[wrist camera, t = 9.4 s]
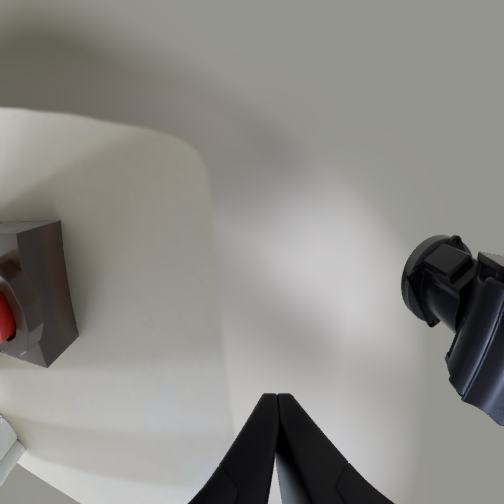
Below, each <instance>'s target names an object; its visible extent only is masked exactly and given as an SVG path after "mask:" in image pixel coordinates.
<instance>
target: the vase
mask: <svg viewBox="0 0 504 504" xmlns="http://www.w3.org/2000/svg"><path fill="white" fill-rule="evenodd" d="M17 438H18V437H17V434H16V432H15V431H14V429H13V428H12V427H11V425H10V424H9V423H8V422H7V421H6V420H5V419H4V418H3V417H2V416H1V415H0V487H1V485H2V484H3V482H4V480H5V479H6V478H7V476H8V475H9V473H10V472H11V470H12V469H13V467H14V466H15V464H16V463H17V461H18V460H19V459H20V457H21V456H22V454H23V453H24V451H25V448H24V446H23V445H22V444H21V443H20V442H19V441H18V440H17Z"/></svg>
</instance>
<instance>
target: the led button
mask: <svg viewBox="0 0 504 504" xmlns="http://www.w3.org/2000/svg"><path fill="white" fill-rule="evenodd" d="M15 330H16V322H15V319H14V315H13V311H12V309H11V307H10V305H9V303H8V302H7V300H6V298H5V296H4V294H3V293H2V292H1V291H0V344H1V343H2V342H4V341H5V340H6V339H8V338H9V337H10V336H11V335H13V334H14V332H15Z"/></svg>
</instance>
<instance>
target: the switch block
mask: <svg viewBox="0 0 504 504" xmlns="http://www.w3.org/2000/svg"><path fill="white" fill-rule="evenodd" d="M0 291H1V292H2V293H3V294H4V296H5V298H6V300H7V302H8V303H9V305H10V307H11V309H12V311H13V315H14V319H15V322H16V330H15V332H14V334H13V335H11V336H10V337H9V338H8V339H6V340H5V341H4V342H2V343H1V344H0V352H2V353H5V354H8V355H10V356H13V357H16V358H18V359H21V360H24V361H27V362H30V363H33V364H36V365H39V366H42V367H45V368H48V367H49V366H50V365H51V364H52V363H53V362H54V361H55V360H56V359H57V358H58V357H59V356H60V355H61V354H62V353H63V352H64V351H65V350H66V349H67V348H68V347H69V346H70V345H71V344H72V343H73V342H74V341H75V340H76V339H77V338H78V332H77V328H76V323H75V319H74V314H73V310H72V305H71V299H70V294H69V288H68V282H67V276H66V269H65V262H64V254H63V245H62V235H61V223H60V220H57V221H28V222H5V223H0Z"/></svg>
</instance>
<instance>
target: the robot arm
mask: <svg viewBox="0 0 504 504" xmlns="http://www.w3.org/2000/svg"><path fill="white" fill-rule="evenodd" d="M456 239H457V242H456V243H455V240H456ZM477 259H478V260H477ZM477 259H475V258H473V257H472V256H471V255H470V254H468V253H466V251H465V248H464V245H463V243H462V240H461V238H460V237H459V236H457V235H454V236H452V237H451V238H450V239H449V240H448V241H447V242H445V243H443V244H442V245H440V246H439V247H438V248H437V249H436V250H435V251H433V252H432V253H431V254H430V255H429V256H427V257H426V258H425V259H424V260H423V262H422V263H420V264H419V265H418V266H417V267H416V268H414V269H413V270H412V271H411V272H409V273H408V274H407V276H406V281H407V283H408V285H409V287H410V289H411V291H412V293H413V295H414V297H415V299H416V301H417V303H418V306H419V308H420V310H421V312H422V314H423V317H424V319H425V321H426V323H427V325H428V326H429V327H431V328H432V327H434V326H435V325H437V324H438V323H439V322H440V321H442V322H443V323H444V324H445V325H446V326H447V327H448V328H449V329H450V330H452V331H453V332H454V333H455V334H456V335H455V337H454V340H453V343H452V345H451V348H450V350H449V352H447V354H446V357H445V360H446V363H447V367H448V371H449V374H450V377H449V381H450V383H451V384H452V386H453V387H454V388H455V389H456V391H457V392H458V394H459V395H460V396H461V397H462V398H461V400H462V401H463V402H466V403H469V404H471V405H474V406H476V407H478V408H479V409H481V410H482V411H484V412H485V413H486V414H487V415H489V416H490V417H491V418H492V419H493V420H494V421H495V422H496V423H497V424H499V425H501V426H504V256H501V255H496V254H490V253H485V252H479V253H478V257H477ZM412 276H413V279H412V280H410V279H411V277H412ZM432 321H433V322H432ZM431 322H432V323H431ZM275 459H276V467H277V473H278V480H279V486H280V492H281V499H282V504H394V503H393V502H392V501H390V500H389V499H388V498H386V497H385V496H384V495H383V494H381V493H380V492H379V491H378V490H376V489H375V488H374V487H373V486H372V485H371V484H370V483H368V482H367V481H366V480H365V479H364V478H363V477H362V476H361V475H360V474H359V473H358V472H357V471H356V470H355V468H354V467H353V466H352V465H351V464H350V463H348V461H347V460H346V458H345V457H344V456H343V455H342V454H341V453H340V452H339V451H338V450H337V448H336V447H335V446H334V445H333V444H332V442H331V441H330V440H329V439H328V438H327V437H326V436H325V434H324V433H323V432H322V431H321V430H320V428H319V427H318V426H317V425H316V424H315V422H314V421H313V420H312V419H311V418H310V417H309V415H308V414H307V413H306V412H305V410H304V409H303V408H302V407H301V406H300V404H299V403H298V402H297V401H296V400H295V399H294V397H293V396H292V395H291V394H289V393H280V394H278V395H276V394H274V393H264V394H263V395H262V396H261V398H260V400H259V401H258V403H257V405H256V406H255V408H254V410H253V412H252V413H251V415H250V417H249V418H248V420H247V422H246V423H245V425H244V426H243V428H242V430H241V432H240V433H239V435H238V436H237V438H236V439H235V441H234V443H233V444H232V446H231V447H230V449H229V450H228V452H227V454H226V455H225V457H224V458H223V460H222V461H221V463H220V464H219V467H217V469H216V470H215V472H214V473H213V474H212V476H211V477H210V479H209V480H208V481H207V483H206V484H205V485H204V487H203V488H202V489H201V490H200V491H199V492H198V493H197V494H196V496H195V497H194V498H193V499H192V500H191V501H190V502H189V503H188V504H268V498H269V493H270V487H271V481H272V474H273V468H274V461H275Z"/></svg>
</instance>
